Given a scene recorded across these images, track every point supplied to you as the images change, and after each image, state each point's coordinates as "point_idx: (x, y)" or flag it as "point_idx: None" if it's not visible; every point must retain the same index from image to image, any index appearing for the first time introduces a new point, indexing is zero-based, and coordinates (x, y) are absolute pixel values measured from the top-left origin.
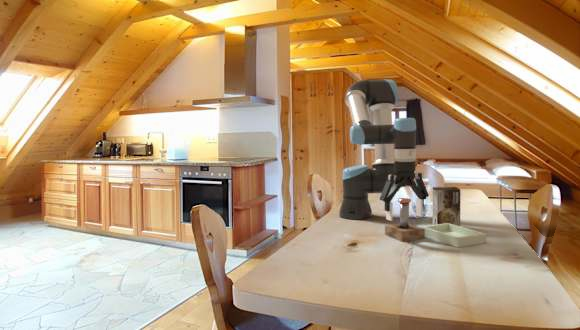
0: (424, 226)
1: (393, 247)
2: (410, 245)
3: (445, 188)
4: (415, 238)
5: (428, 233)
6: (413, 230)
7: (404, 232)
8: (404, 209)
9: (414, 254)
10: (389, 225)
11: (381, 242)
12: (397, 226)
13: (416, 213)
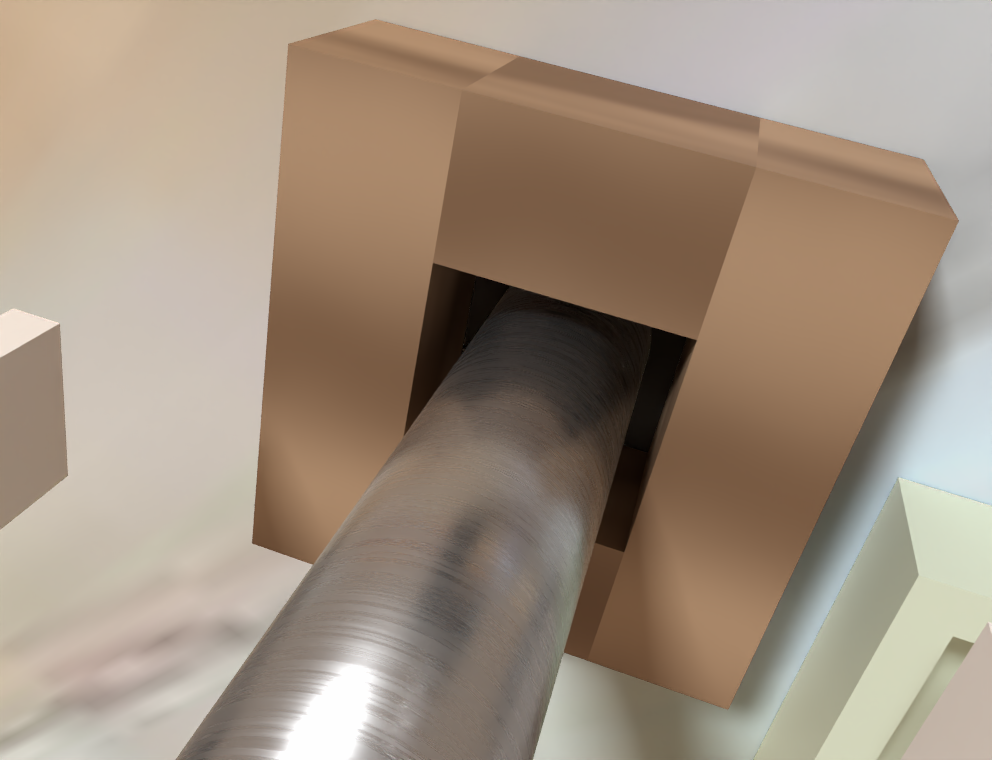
0: (986, 610)
1: (83, 494)
2: None
3: None
4: None
5: (833, 658)
6: None
7: (299, 550)
8: None
9: (134, 721)
10: (385, 109)
11: (65, 279)
12: (483, 272)
13: (990, 687)
